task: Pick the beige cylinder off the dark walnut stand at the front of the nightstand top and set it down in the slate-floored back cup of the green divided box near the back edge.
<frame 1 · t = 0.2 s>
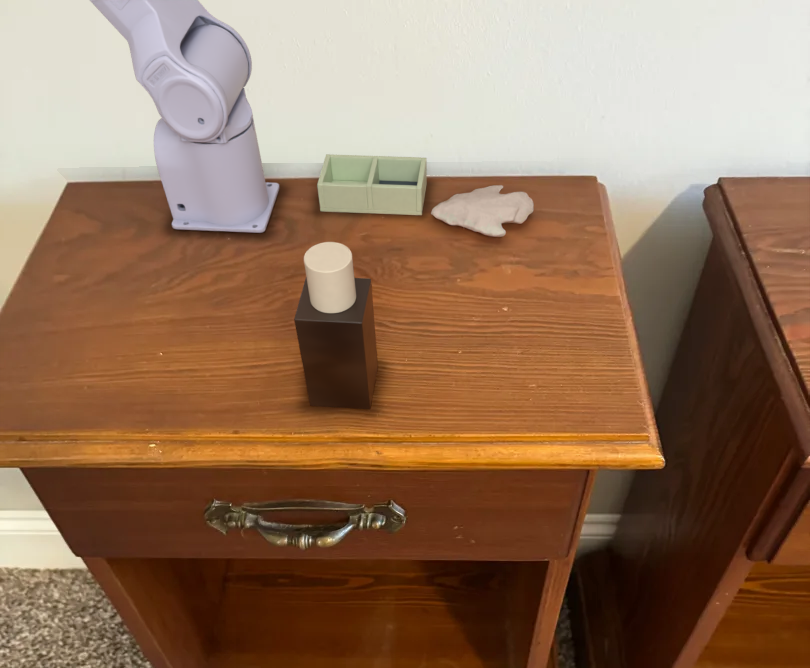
stand: (344, 386, 65), on the table
beige cylinder: (333, 298, 57), point 9 cm above the table, touching stand
arrowhead: (481, 220, 77), on the table
green divided box: (374, 197, 79), on the table
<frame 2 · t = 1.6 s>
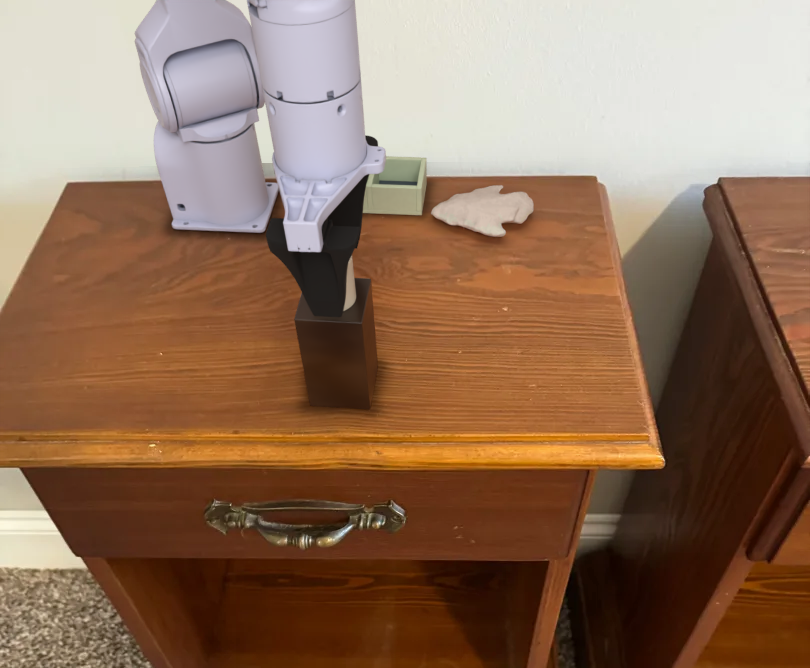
hand: (336, 278, 56), 11 cm above the table, tool pointing down, fingers open, 7 cm apart
nothing on the table moved.
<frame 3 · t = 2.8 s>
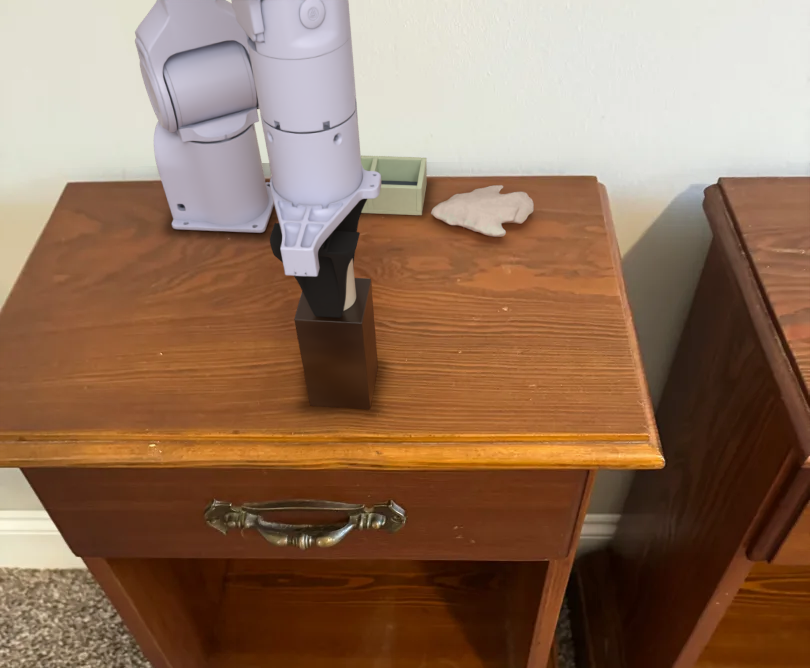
hand: (332, 296, 57), 9 cm above the table, tool pointing down, fingers closed on beige cylinder, 3 cm apart
beige cylinder: (333, 298, 57), point 9 cm above the table, touching gripper, stand
everything else where it was.
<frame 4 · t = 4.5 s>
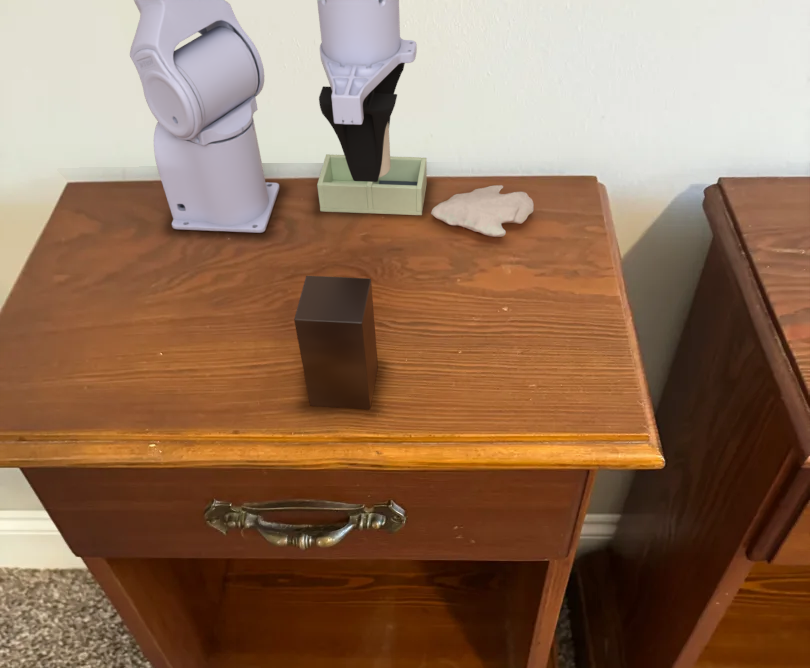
hand: (369, 165, 64), 10 cm above the table, tool pointing down, fingers closed on beige cylinder, 3 cm apart
beige cylinder: (370, 167, 64), point 10 cm above the table, touching gripper
everything else where it was.
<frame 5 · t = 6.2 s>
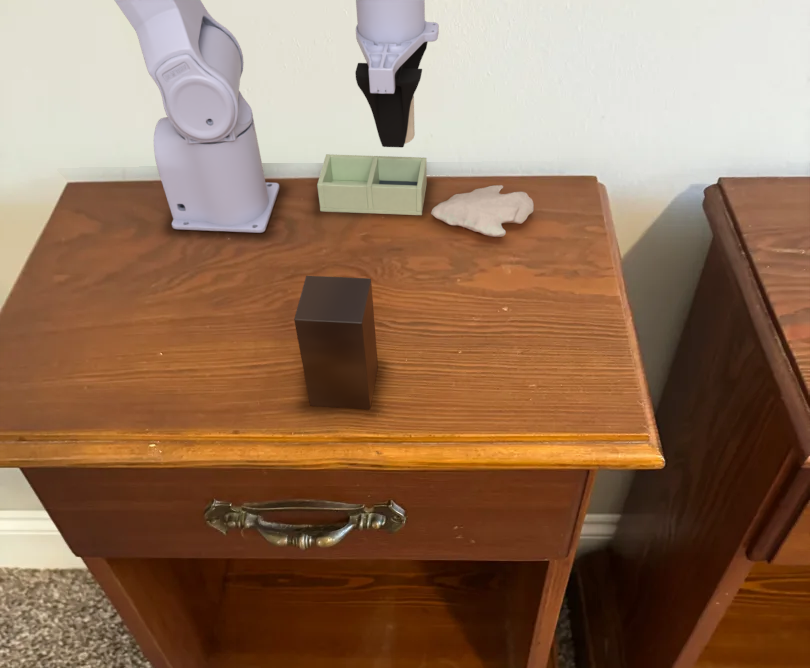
hand: (395, 133, 73), 7 cm above the table, tool pointing down, fingers closed on beige cylinder, 3 cm apart
beige cylinder: (396, 135, 74), point 6 cm above the table, touching gripper
everything else where it was.
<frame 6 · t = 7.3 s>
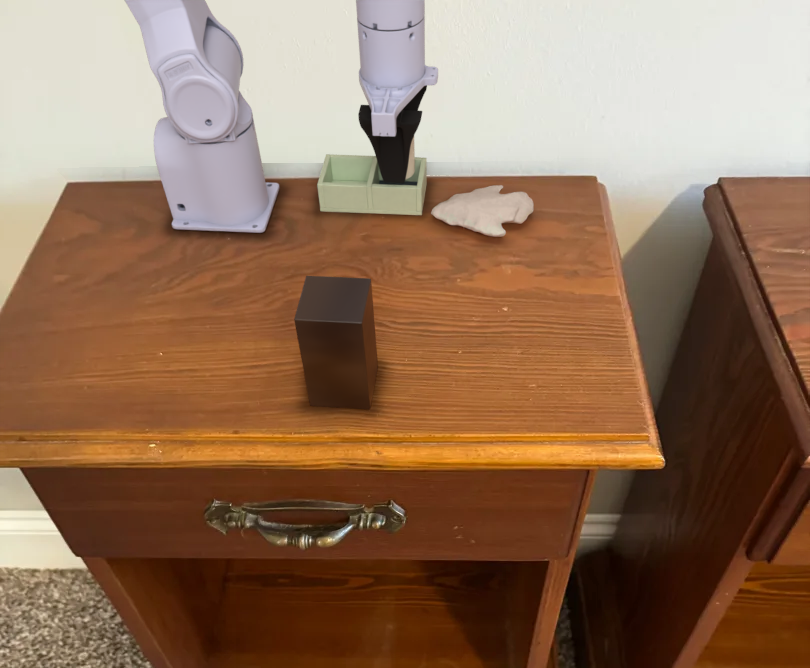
hand: (396, 169, 76), 3 cm above the table, tool pointing down, fingers closed on beige cylinder, 3 cm apart
beige cylinder: (397, 171, 77), point 3 cm above the table, touching gripper
everything else where it was.
when the fingers open (3 cm above the table, at t = 9.7 s): beige cylinder drops 3 cm, resting on green divided box.
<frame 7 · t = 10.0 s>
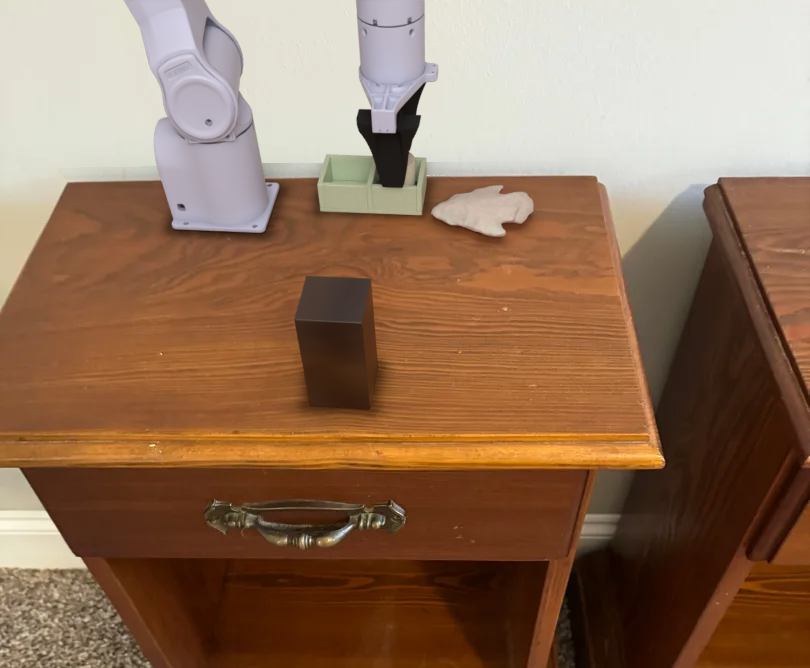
hand: (396, 166, 76), 3 cm above the table, tool pointing down, fingers open, 6 cm apart
beige cylinder: (398, 193, 78), point 1 cm above the table, touching green divided box
everything else where it was.
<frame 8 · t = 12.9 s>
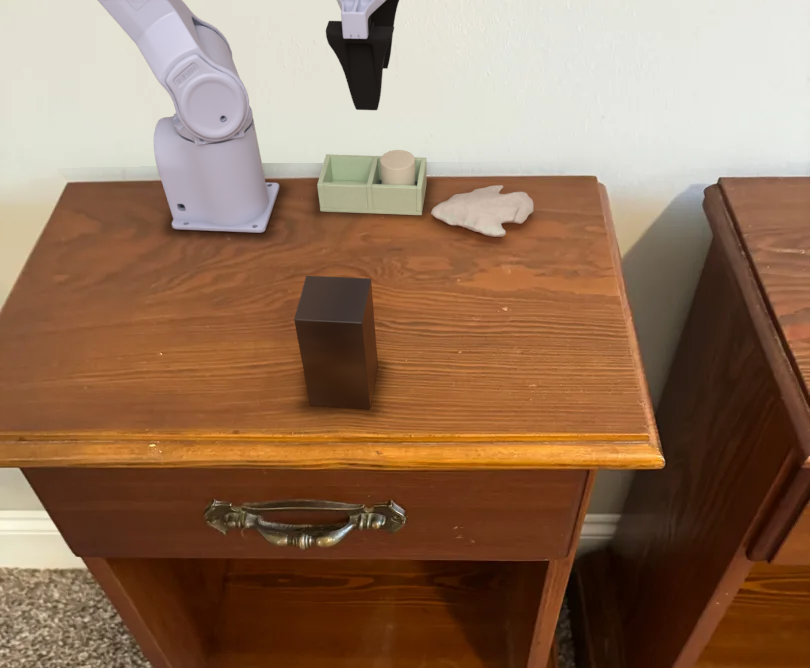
hand: (372, 86, 73), 9 cm above the table, tool pointing down, fingers open, 7 cm apart
nothing on the table moved.
at the end: beige cylinder 0.2 cm from the target spot in the green divided box, point 0.6 cm above the green divided box's base; beige cylinder tilted 0°; the gripper is holding nothing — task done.
